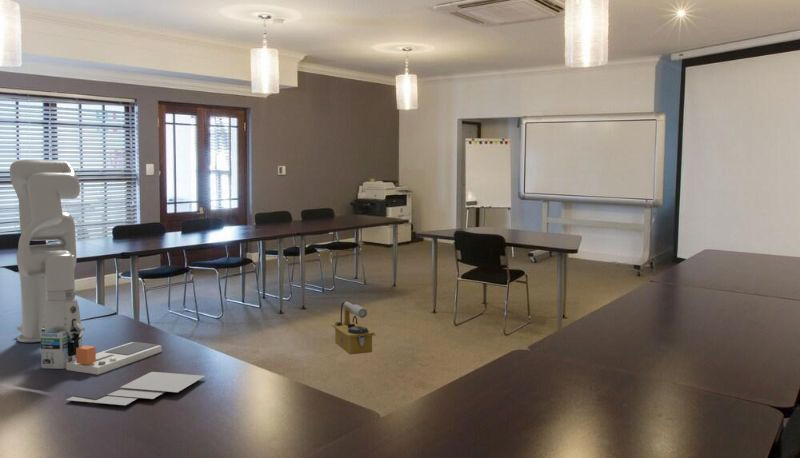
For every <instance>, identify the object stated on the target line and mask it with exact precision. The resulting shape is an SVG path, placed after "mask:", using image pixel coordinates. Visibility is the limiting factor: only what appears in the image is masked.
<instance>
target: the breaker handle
mask: <svg viewBox="0 0 800 458" xmlns="http://www.w3.org/2000/svg"><path fill="white" fill-rule="evenodd" d="M96 353H97V352H96V346H92V345H87V344H86V345H85V344H84V345H82V346H81V347H78V348H76V362H77V363H79V364H86V365H88V364H91V363H94V362H96Z"/></svg>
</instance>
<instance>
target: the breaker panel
mask: <svg viewBox="0 0 800 458" xmlns="http://www.w3.org/2000/svg"><path fill="white" fill-rule="evenodd" d="M162 347H163V346H162V345H161V344H160V345H159V344H156V343H146V342H139V341H134V342H133V341H132V342H128V343H124V344H122V345H118V346H115V347H112V348H109V349H107V350H102V351H100V352H96V362H94V363H91V364H88V365H86V364H79V363H77V362H76V360H74V361H71V362H68V363H66V368H65V369H66V371H72V372H76V373H77V372H78V373H84V374H85V373H86V374H91V375H92V374H93V375H96V376H97V375H102V374H104V373H107V372H109V371H112V370H115V369H118V368H121V367H123V366H127V365H129V364H132V363H134V362H137V361H141V360H143V359H146V358H148V357H151V356H154V355H156V354H159V353H162Z"/></svg>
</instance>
